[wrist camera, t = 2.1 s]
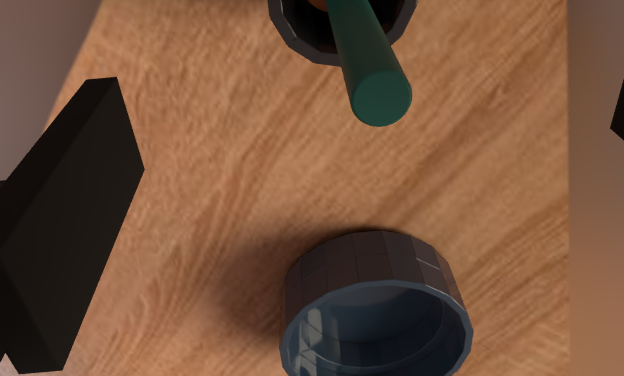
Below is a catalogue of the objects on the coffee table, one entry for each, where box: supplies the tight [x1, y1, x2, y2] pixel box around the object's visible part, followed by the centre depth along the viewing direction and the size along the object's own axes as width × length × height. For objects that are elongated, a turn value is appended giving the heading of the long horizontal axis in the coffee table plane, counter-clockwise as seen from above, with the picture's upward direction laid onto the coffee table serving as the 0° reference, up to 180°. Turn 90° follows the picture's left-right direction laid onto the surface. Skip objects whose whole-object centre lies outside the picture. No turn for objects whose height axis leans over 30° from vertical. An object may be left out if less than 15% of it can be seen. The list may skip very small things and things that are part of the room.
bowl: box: [279, 231, 473, 376], centre depth 42 cm, size 15×15×6 cm
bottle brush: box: [308, 0, 412, 127], centre depth 21 cm, size 4×4×19 cm
